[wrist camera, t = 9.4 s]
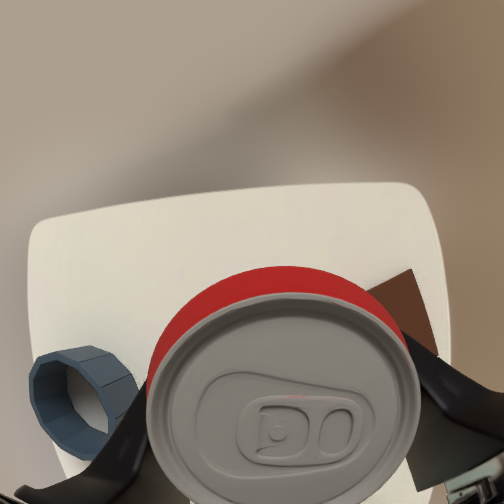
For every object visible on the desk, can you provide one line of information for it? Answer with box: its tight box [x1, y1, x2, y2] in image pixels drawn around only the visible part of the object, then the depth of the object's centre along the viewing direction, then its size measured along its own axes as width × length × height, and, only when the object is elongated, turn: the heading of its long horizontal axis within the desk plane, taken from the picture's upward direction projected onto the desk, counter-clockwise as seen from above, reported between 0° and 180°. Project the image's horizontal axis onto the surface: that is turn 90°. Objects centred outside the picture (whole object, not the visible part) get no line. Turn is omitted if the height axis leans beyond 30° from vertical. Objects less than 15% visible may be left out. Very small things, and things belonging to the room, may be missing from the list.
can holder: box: [29, 346, 139, 460], centre depth 19 cm, size 10×10×6 cm
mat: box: [366, 269, 439, 356], centre depth 22 cm, size 9×9×1 cm
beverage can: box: [146, 266, 421, 504], centre depth 10 cm, size 7×7×12 cm
